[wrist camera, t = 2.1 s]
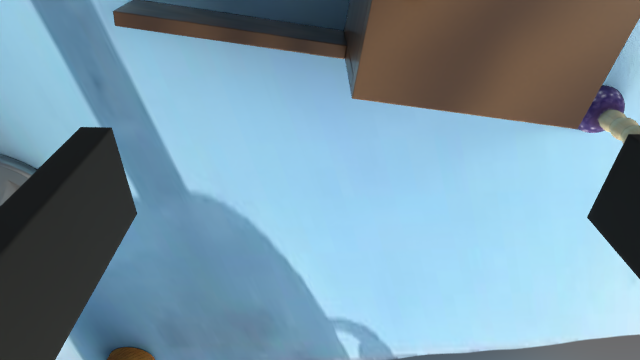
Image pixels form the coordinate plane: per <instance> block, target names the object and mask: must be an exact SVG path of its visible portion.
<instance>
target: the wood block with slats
mask: <svg viewBox="0 0 640 360" xmlns="http://www.w3.org/2000/svg"><path fill="white" fill-rule="evenodd" d="M113 14H114V22H115V26H120V27H127V28H134V29H141V30H147V31H154V32H161V33H168V34H175V35H182V36H189V37H196V38H203V39H209V40H216V41H223V42H230V43H237V44H244V45H251V46H258V47H265V48H271V49H278V50H285V51H292V52H299V53H306V54H313V55H320V56H327V57H333V58H340V59H345V61H346V67H347V72H348V78H349V84H350V89H351V96H352V98H353V99H360V100H367V101H374V102H382V103H389V104H396V105H404V106H411V107H418V108H426V109H433V110H440V111H448V112H455V113H462V114H469V115H477V116H484V117H491V118H499V119H506V120H513V121H521V122H528V123H535V124H543V125H550V126H557V127H565V128H572V129H578V127H579V125H580V124H581V122H582V120H583V118H584V116H585V115H586V113H587V111H588V109H589V107H590V106H591V104H592V102H593V100H594V98H595V97H596V95H597V93H598V91H599V90H600V88H601V86H602V84H603V82H604V81H605V79H606V77H607V75H608V73H609V72H610V70H611V68H612V66H613V64H614V63H615V61H616V59H617V57H618V56H619V54H620V52H621V50H622V48H623V47H624V45H625V43H626V41H627V39H628V38H629V36H630V34H631V32H632V30H633V29H634V27H635V25H636V23H637V21H638V20H639V18H640V0H349V6H348V12H347V17H346V23H345V29H344V31H342V30H336V29H329V28H323V27H316V26H309V25H303V24H296V23H290V22H283V21H276V20H270V19H263V18H257V17H250V16H243V15H237V14H230V13H224V12H217V11H210V10H204V9H197V8H190V7H184V6H177V5H171V4H164V3H157V2H151V1H144V0H132V1H130V2H128V3H127V4H125V5H123V6H121V7H120V8H118V9H116V10H114V11H113Z"/></svg>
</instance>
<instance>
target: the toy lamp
mask: <svg viewBox="0 0 640 360" xmlns="http://www.w3.org/2000/svg"><path fill="white" fill-rule="evenodd" d="M624 107H625V103H624V99H623V97H622V95H621V94H620V92H619V91H618V90H616V89H615V88H613V87H610V86H601V88H600V90H599V91H598V93H597V95H596V97H595V98H594V100H593V102H592V104H591V106H590V107H589V109H588V111H587V113H586V115H585V116H584V118H583V120H582V122H581V124H580V125H579V127H578V129H579V130H581V131H584V132H588V133H597V132H602V131H608V132H611V134H612V136H613V137H615V138H616V139H618V140H621V141H622V142H623V144H624V142H625V140H626V138H627V136H628V134H640V126H639V125H638V123H637V122H636V121H634V120H633V119H630V118H627V117H626V116H625V115H624V114H623V113H624Z"/></svg>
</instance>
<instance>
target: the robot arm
mask: <svg viewBox="0 0 640 360" xmlns="http://www.w3.org/2000/svg"><path fill="white" fill-rule="evenodd" d="M136 215H137V212H136V208H135V205H134V202H133V198H132V195H131V191H130V188H129V185H128V181H127V178H126V174H125V171H124V168H123V164H122V161H121V158H120V154H119V151H118V147H117V144H116V141H115V137H114V134H113V130H112V128H100V127H80V128H79V129H78V130H77V131H76V132H75V133H74V134H73V135H72V136H71V137H70V138H69V139H68V140H67V141H66V142H65V143H64V144H63V145H62V146H61V147H60V148H59V149H58V150H57V151H56V152H55V153H54V154H53V155H52V156H51V157H50V158H49V159H48V160H47V161H46V162H45V163H44V164H43V165H42V166H41V167H40V168H39V169H38V170H37V169H35V168H33V167H31V166H29V165H27V164H25V163H23V162H20V161H18V160H16V159H13V158H10V157H7V156H4V155H0V360H55V359H56V357H57V355H58V354H59V352H60V350H61V348H62V347H63V345H64V343H65V341H66V339H67V338H68V336H69V334H70V332H71V330H72V329H73V327H74V325H75V323H76V322H77V320H78V318H79V316H80V314H81V313H82V311H83V309H84V307H85V306H86V304H87V302H88V300H89V298H90V297H91V295H92V293H93V291H94V289H95V288H96V286H97V284H98V282H99V281H100V279H101V277H102V275H103V273H104V272H105V270H106V268H107V266H108V265H109V263H110V261H111V259H112V257H113V256H114V254H115V252H116V250H117V248H118V247H119V245H120V243H121V241H122V240H123V238H124V236H125V234H126V232H127V231H128V229H129V227H130V225H131V224H132V222H133V220H134V218H135V216H136ZM587 218H588V219H589V220H590V221H591V222H592V224H593V225H594V226H595V227H596V228H597V229H598V231H599V232H600V233H601V234H602V235H603V237H604V238H605V239H606V240H607V241H608V242H609V244H610V245H611V246H612V247H613V248H614V249H615V251H616V252H617V253H618V254H619V255H620V256H621V258H622V259H623V260H624V261H625V262H626V263H627V265H628V266H629V267H630V268H631V269H632V271H633V272H634V273H635V274H636V275H637V276H638V278H639V279H640V134H628V136H627V138H626V140H625V142H624V144H623V146H622V148H621V150H620V152H619V154H618V156H617V158H616V160H615V162H614V164H613V166H612V168H611V170H610V172H609V174H608V176H607V178H606V180H605V182H604V184H603V186H602V188H601V190H600V192H599V194H598V196H597V198H596V200H595V202H594V204H593V206H592V209H591V211H590V213H589V215H588V217H587Z"/></svg>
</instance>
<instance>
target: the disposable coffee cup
mask: <svg viewBox="0 0 640 360" xmlns="http://www.w3.org/2000/svg"><path fill="white" fill-rule="evenodd" d="M107 360H155V359H154V357H153V356H152V355H151V354H149V353H148V352H146V351H144V350H141V349H137V348H131V347H124V348H118V349H116V350H114V351H112V352H111V353H110V355H109V357H108V359H107Z"/></svg>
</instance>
